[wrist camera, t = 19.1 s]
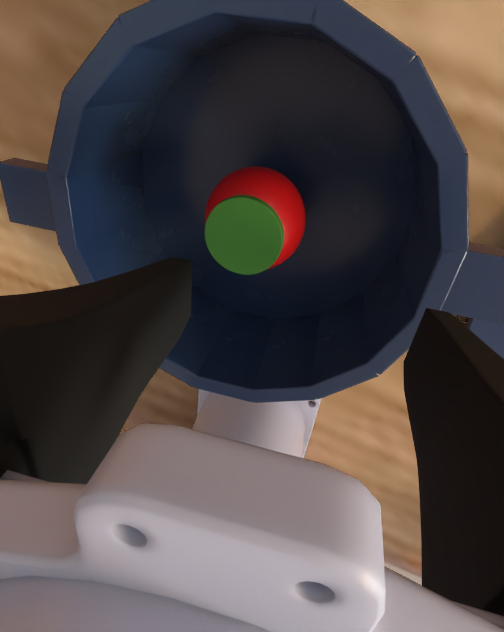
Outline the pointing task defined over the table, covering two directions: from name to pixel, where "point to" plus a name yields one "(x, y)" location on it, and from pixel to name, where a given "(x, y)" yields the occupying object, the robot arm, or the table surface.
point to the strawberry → (254, 220)
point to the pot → (278, 154)
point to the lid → (488, 334)
